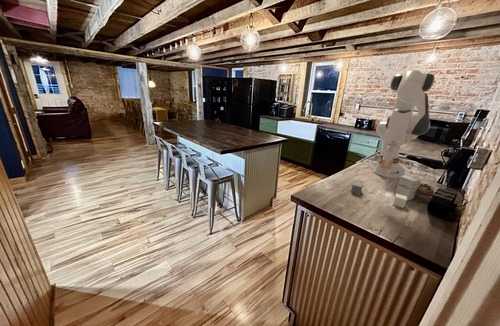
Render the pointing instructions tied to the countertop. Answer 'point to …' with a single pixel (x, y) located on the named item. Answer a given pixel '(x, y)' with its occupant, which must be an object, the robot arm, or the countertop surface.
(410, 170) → the countertop surface
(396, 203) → the offwhite cube
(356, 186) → the charcoal cube
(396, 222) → the countertop surface
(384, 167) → the terracotta cube
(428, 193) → the cupcake
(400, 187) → the supplement box
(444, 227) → the countertop surface
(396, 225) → the countertop surface
